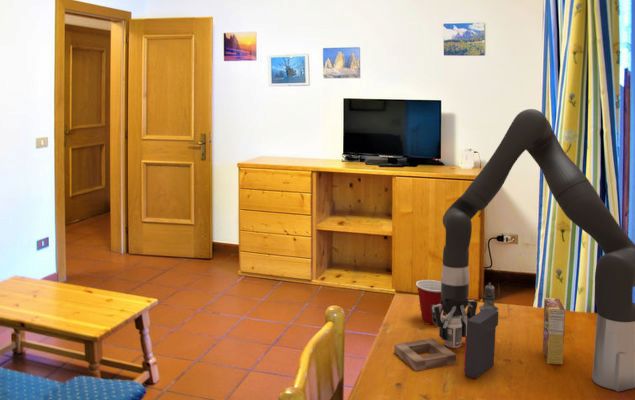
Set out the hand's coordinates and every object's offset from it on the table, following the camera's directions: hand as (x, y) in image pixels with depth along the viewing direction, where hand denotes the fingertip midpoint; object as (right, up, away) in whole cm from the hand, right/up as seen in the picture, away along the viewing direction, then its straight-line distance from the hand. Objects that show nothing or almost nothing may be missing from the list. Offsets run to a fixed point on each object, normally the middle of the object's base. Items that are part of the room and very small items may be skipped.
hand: (453, 337), depth 179 cm
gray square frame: (-10, -4, -8) cm, 13 cm away
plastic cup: (-3, +1, +18) cm, 19 cm away
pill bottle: (0, -2, 0) cm, 2 cm away
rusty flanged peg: (+15, +1, +20) cm, 25 cm away
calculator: (+3, -5, -16) cm, 17 cm away
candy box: (+25, -4, -8) cm, 26 cm away
